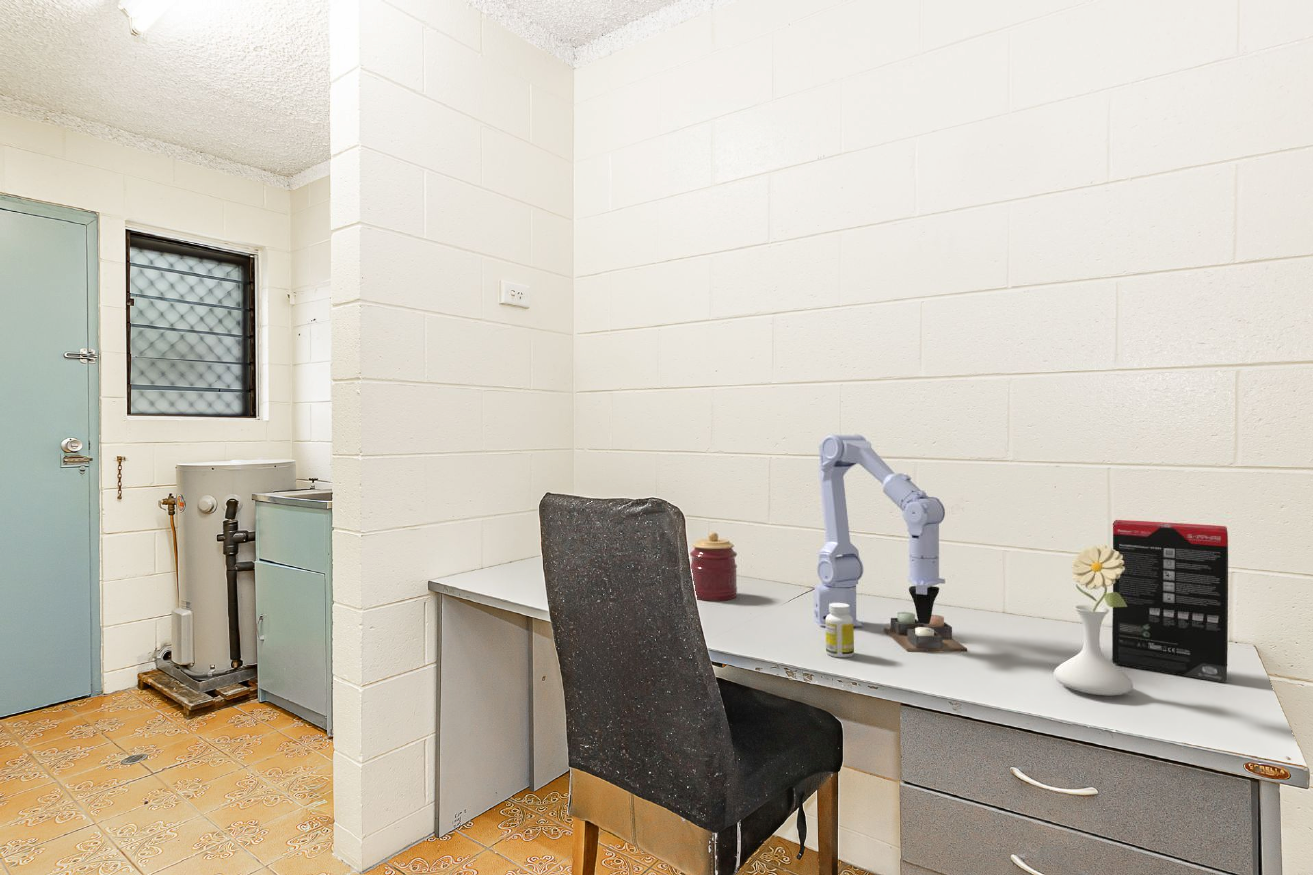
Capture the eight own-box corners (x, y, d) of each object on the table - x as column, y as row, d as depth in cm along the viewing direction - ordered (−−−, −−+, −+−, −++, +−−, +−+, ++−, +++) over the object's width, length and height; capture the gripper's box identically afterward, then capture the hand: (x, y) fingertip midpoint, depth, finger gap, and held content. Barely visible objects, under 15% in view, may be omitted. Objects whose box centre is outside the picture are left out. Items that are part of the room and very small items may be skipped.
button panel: (907, 651, 137) (907, 636, 137) (884, 631, 152) (884, 617, 152) (967, 651, 137) (967, 636, 137) (938, 631, 152) (938, 617, 152)
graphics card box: (1228, 675, 123) (1226, 523, 123) (1231, 685, 117) (1228, 527, 118) (1114, 657, 133) (1112, 517, 133) (1111, 666, 128) (1110, 521, 128)
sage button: (900, 628, 148) (900, 616, 148) (895, 623, 151) (895, 612, 151) (917, 628, 147) (917, 616, 148) (911, 623, 151) (911, 612, 151)
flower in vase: (1038, 679, 121) (1037, 538, 121) (1099, 677, 122) (1098, 537, 122) (1091, 707, 108) (1089, 549, 108) (1159, 705, 109) (1157, 548, 109)
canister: (744, 600, 183) (743, 534, 183) (697, 602, 180) (697, 536, 180) (728, 590, 196) (727, 528, 196) (684, 592, 193) (684, 530, 193)
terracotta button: (929, 631, 145) (929, 619, 145) (923, 626, 149) (923, 614, 149) (946, 631, 145) (946, 619, 145) (940, 626, 149) (940, 614, 149)
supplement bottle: (854, 651, 137) (854, 602, 137) (853, 659, 132) (852, 609, 132) (826, 649, 139) (826, 600, 139) (824, 656, 134) (824, 606, 134)
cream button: (919, 644, 138) (918, 631, 138) (912, 639, 142) (912, 627, 142) (936, 644, 138) (936, 631, 138) (930, 639, 142) (930, 627, 142)
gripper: (943, 563, 132) (943, 634, 132) (946, 552, 145) (946, 616, 145) (904, 561, 135) (905, 629, 135) (911, 550, 148) (911, 613, 148)
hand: (924, 622), depth 140 cm, fingers closed
